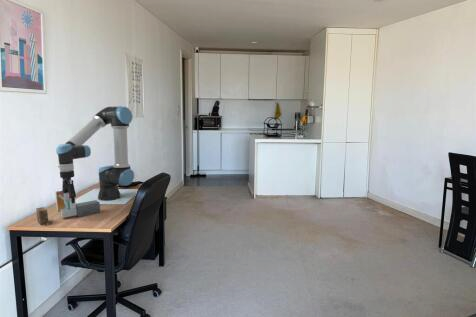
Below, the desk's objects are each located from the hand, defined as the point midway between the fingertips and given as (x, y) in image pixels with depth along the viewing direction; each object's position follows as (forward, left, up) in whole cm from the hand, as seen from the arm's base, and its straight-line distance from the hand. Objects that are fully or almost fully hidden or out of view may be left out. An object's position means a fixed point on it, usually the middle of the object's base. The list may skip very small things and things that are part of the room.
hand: (70, 206), depth 207 cm
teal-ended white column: (-4, 0, -5) cm, 7 cm away
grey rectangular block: (-10, 0, -7) cm, 12 cm away
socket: (+15, 0, -7) cm, 16 cm away
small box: (-1, -20, -7) cm, 21 cm away
